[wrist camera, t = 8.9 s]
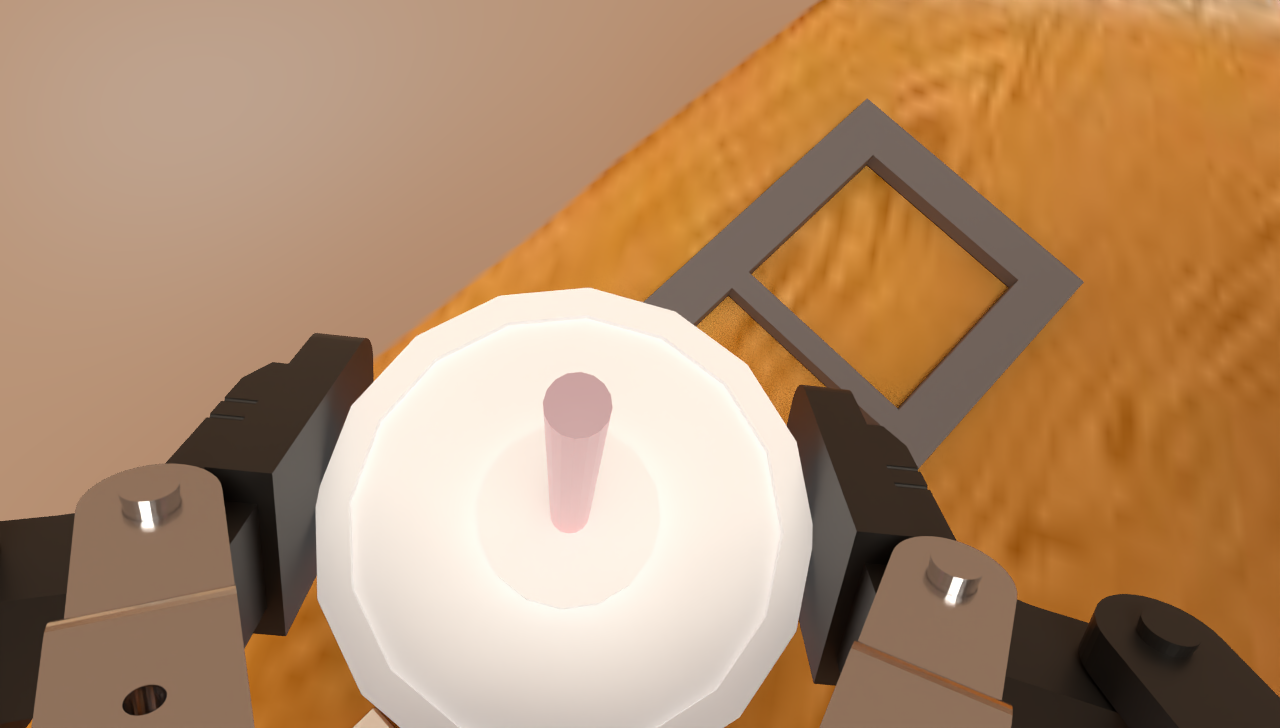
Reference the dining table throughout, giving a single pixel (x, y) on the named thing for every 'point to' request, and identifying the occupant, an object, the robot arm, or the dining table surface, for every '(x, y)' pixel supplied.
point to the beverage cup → (563, 523)
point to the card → (373, 720)
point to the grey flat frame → (945, 202)
